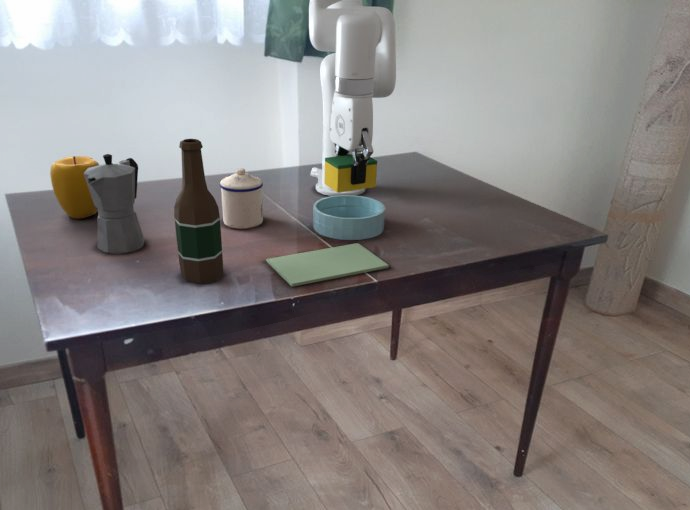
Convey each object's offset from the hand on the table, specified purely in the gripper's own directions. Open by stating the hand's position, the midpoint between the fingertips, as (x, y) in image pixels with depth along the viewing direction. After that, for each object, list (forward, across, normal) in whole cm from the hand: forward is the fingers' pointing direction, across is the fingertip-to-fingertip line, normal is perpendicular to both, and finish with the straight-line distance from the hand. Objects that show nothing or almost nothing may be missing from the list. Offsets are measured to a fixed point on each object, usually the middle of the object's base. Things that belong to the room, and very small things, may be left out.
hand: (350, 177), depth 131 cm
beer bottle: (+11, +11, -36) cm, 39 cm away
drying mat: (+10, +16, -13) cm, 23 cm away
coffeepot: (+11, -10, -46) cm, 48 cm away
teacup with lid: (+11, -13, -20) cm, 26 cm away
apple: (+11, -30, -51) cm, 60 cm away
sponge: (+2, 0, 0) cm, 2 cm away
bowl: (+11, +1, 0) cm, 11 cm away
